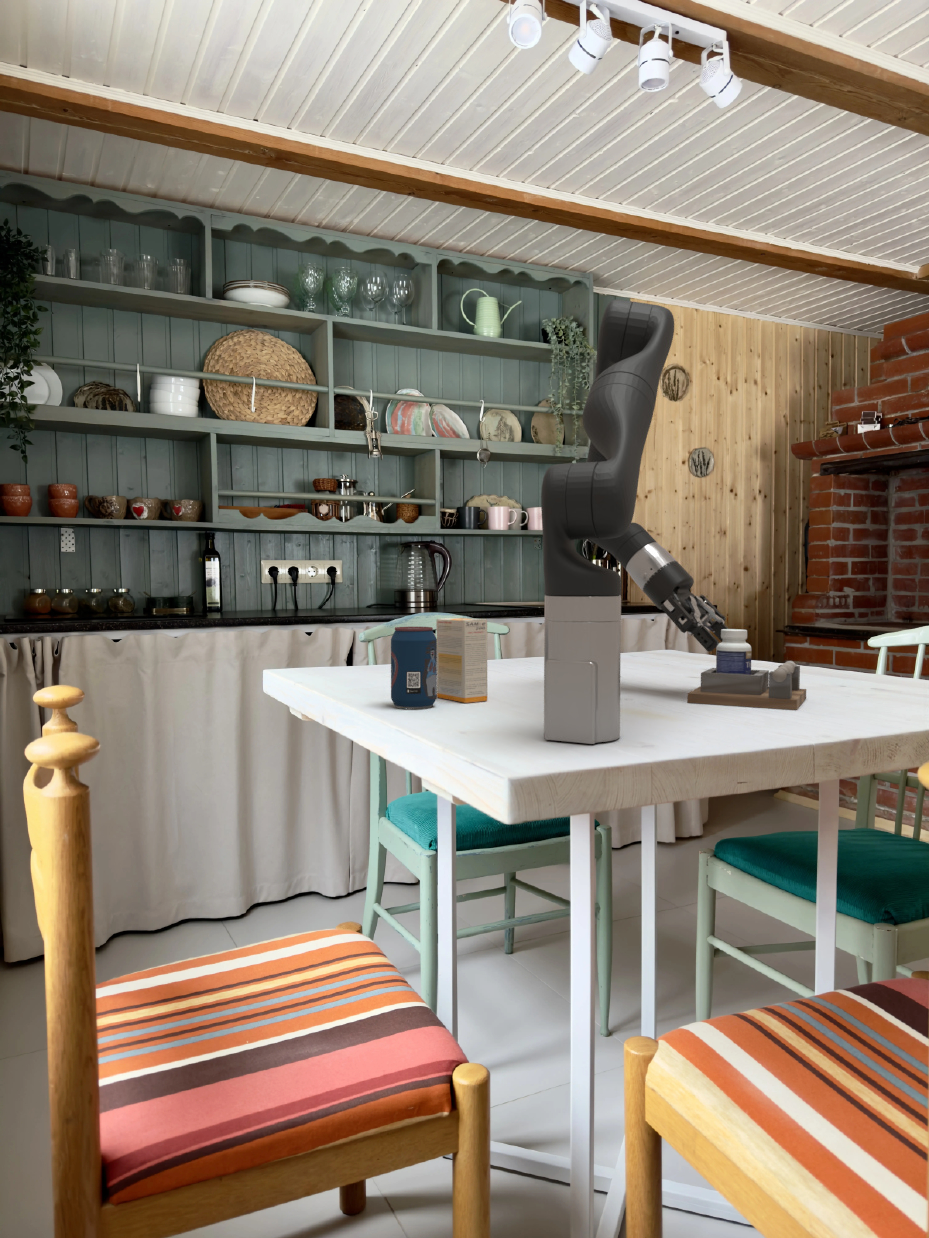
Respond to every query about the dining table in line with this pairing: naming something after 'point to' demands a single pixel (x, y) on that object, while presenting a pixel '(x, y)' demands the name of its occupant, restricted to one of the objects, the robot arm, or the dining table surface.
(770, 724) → the dining table surface
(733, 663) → the pill bottle
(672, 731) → the dining table surface
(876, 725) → the dining table surface
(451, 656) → the supplement box
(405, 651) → the soda can
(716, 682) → the block
